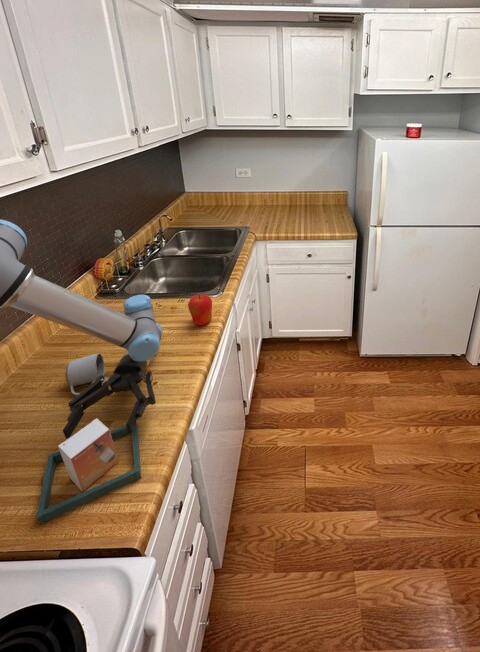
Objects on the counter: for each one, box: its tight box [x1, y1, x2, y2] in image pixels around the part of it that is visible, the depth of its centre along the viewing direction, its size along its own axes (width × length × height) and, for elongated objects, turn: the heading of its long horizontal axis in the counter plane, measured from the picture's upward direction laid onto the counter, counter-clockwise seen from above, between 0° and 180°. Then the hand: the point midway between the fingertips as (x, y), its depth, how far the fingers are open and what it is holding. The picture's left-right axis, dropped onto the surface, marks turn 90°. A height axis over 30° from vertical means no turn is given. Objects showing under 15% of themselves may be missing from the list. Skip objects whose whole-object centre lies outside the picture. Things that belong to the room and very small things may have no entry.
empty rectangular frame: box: [36, 421, 142, 525], centre depth 75 cm, size 18×14×2 cm
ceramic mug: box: [64, 352, 106, 397], centre depth 96 cm, size 11×8×8 cm
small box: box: [57, 417, 119, 493], centre depth 73 cm, size 8×6×10 cm
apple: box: [187, 293, 213, 326], centre depth 123 cm, size 9×8×12 cm
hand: (97, 431), depth 76 cm, fingers open, 13 cm apart
